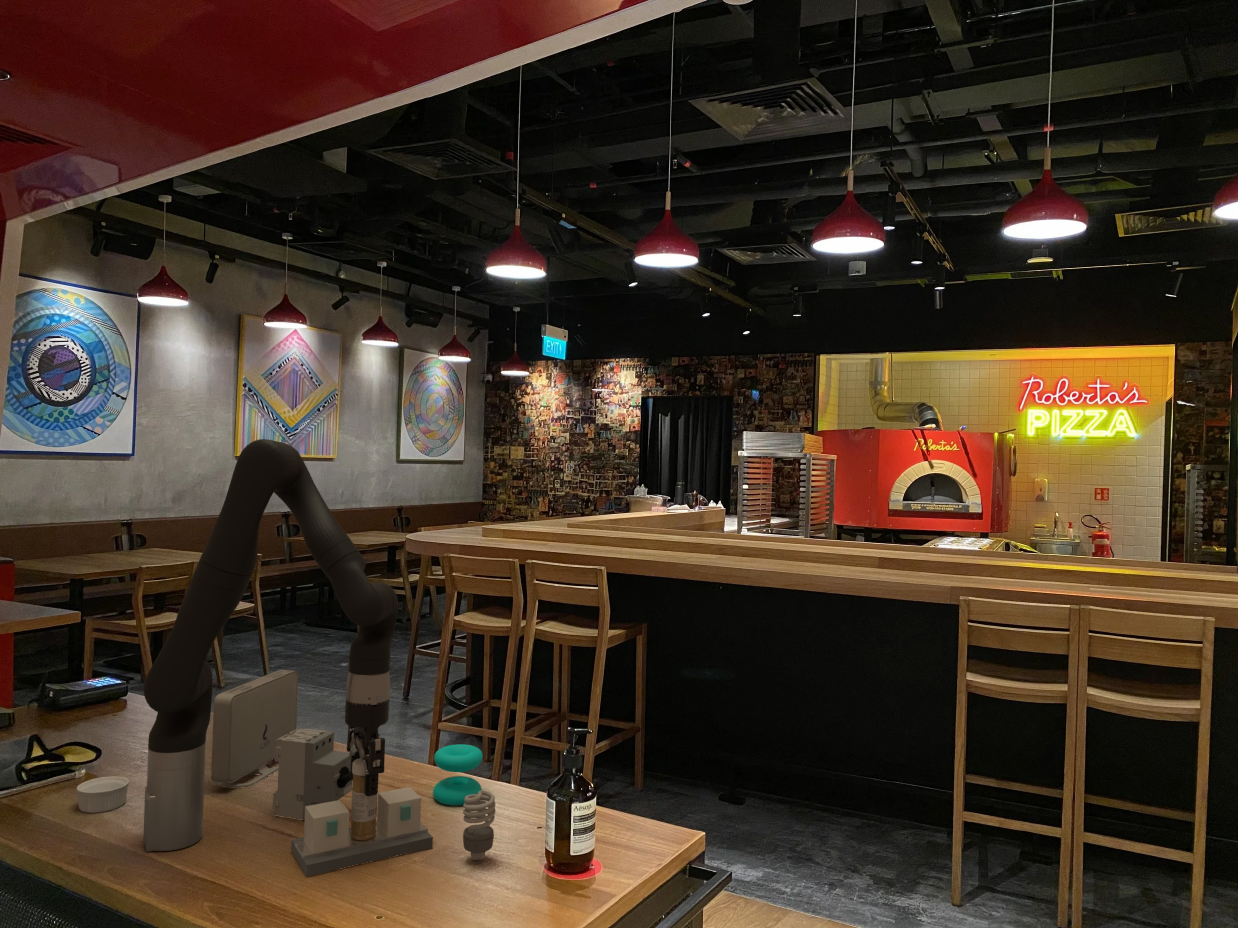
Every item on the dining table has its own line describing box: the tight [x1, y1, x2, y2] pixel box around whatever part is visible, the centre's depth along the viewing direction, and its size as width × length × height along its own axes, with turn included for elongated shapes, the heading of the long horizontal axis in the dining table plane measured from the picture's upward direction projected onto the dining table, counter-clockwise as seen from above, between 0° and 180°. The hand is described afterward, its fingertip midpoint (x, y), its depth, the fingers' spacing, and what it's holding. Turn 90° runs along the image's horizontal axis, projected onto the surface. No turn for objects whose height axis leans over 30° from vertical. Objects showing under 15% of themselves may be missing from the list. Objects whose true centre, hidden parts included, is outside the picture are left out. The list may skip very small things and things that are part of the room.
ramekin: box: [76, 775, 130, 814], centre depth 167 cm, size 9×9×4 cm
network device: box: [210, 669, 299, 789], centre depth 188 cm, size 26×9×20 cm, turn 170°
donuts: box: [432, 743, 484, 806], centre depth 177 cm, size 10×10×10 cm
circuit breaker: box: [272, 728, 353, 820], centre depth 167 cm, size 8×14×15 cm, turn 78°
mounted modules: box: [303, 786, 422, 854], centre depth 152 cm, size 19×7×6 cm, turn 124°
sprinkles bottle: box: [350, 758, 378, 840], centre depth 152 cm, size 5×5×13 cm
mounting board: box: [290, 821, 434, 878], centre depth 152 cm, size 22×11×2 cm, turn 124°
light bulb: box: [462, 790, 496, 862], centre depth 149 cm, size 6×6×12 cm
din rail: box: [295, 821, 429, 859], centre depth 152 cm, size 22×6×1 cm, turn 124°
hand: (363, 786), depth 152 cm, fingers open, 8 cm apart
